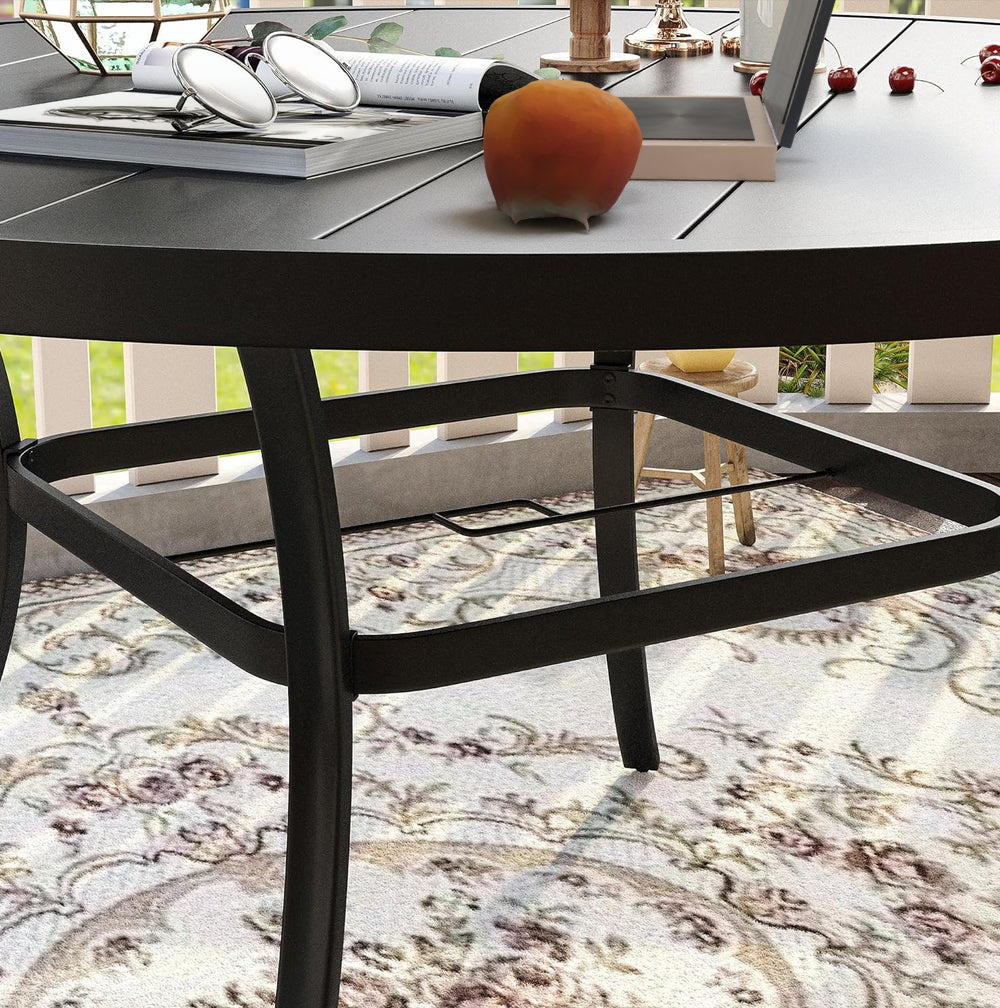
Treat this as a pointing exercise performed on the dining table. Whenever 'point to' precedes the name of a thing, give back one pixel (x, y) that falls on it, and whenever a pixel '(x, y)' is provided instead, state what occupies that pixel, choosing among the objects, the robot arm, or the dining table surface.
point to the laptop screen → (794, 64)
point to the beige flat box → (703, 138)
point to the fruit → (559, 150)
